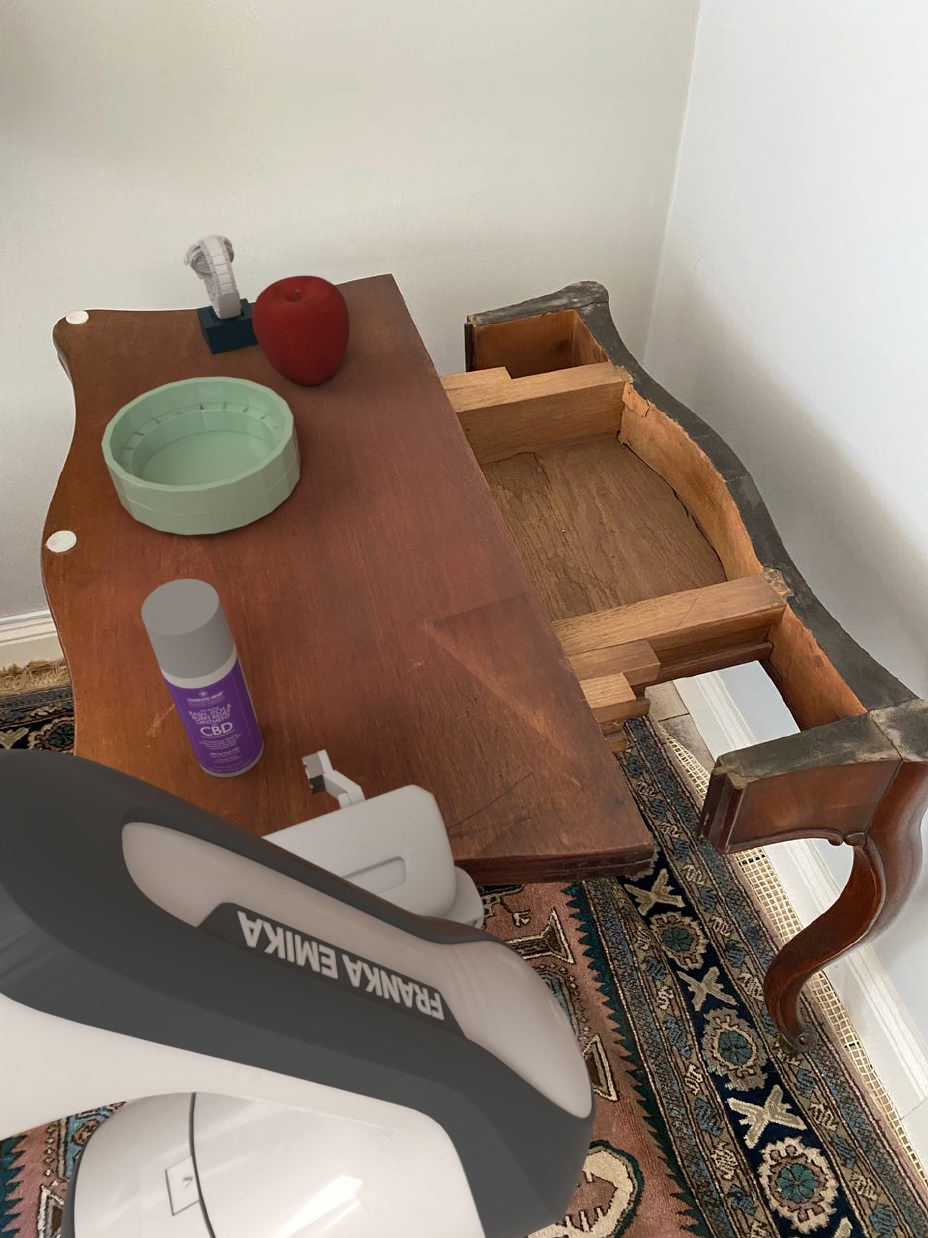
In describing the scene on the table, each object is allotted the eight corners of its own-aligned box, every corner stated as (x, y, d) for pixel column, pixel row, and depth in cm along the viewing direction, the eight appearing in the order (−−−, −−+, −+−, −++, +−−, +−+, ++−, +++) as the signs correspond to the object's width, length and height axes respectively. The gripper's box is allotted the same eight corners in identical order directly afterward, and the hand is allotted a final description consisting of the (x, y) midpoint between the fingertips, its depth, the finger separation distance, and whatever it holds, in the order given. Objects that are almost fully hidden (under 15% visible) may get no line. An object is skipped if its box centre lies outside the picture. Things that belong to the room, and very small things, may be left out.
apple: (247, 368, 95) (228, 279, 88) (326, 339, 99) (314, 251, 91) (290, 411, 90) (274, 320, 83) (372, 379, 94) (363, 289, 86)
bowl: (135, 560, 76) (116, 511, 72) (108, 448, 86) (90, 399, 82) (322, 510, 80) (315, 461, 76) (276, 409, 90) (267, 361, 86)
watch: (246, 315, 102) (227, 218, 94) (266, 350, 97) (247, 252, 89) (197, 326, 101) (173, 228, 93) (215, 362, 96) (191, 263, 88)
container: (218, 790, 61) (163, 649, 50) (184, 746, 64) (124, 603, 52) (277, 751, 63) (236, 608, 52) (241, 711, 66) (195, 565, 55)
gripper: (499, 910, 43) (402, 696, 52) (58, 1086, 38) (31, 817, 47) (496, 960, 48) (407, 756, 57) (103, 1123, 43) (70, 872, 51)
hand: (234, 785), depth 52 cm, fingers open, 8 cm apart
